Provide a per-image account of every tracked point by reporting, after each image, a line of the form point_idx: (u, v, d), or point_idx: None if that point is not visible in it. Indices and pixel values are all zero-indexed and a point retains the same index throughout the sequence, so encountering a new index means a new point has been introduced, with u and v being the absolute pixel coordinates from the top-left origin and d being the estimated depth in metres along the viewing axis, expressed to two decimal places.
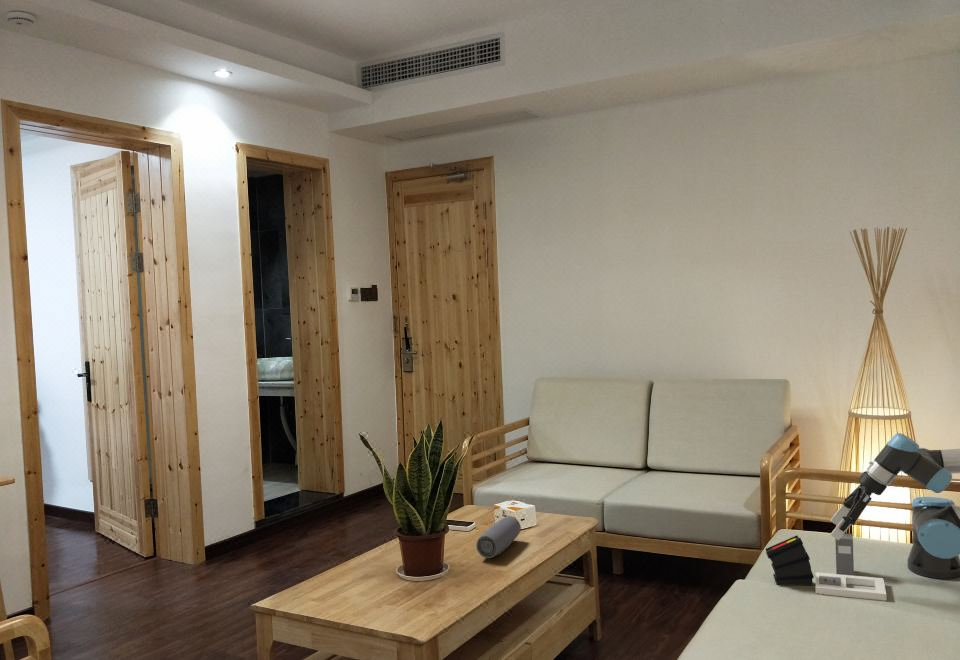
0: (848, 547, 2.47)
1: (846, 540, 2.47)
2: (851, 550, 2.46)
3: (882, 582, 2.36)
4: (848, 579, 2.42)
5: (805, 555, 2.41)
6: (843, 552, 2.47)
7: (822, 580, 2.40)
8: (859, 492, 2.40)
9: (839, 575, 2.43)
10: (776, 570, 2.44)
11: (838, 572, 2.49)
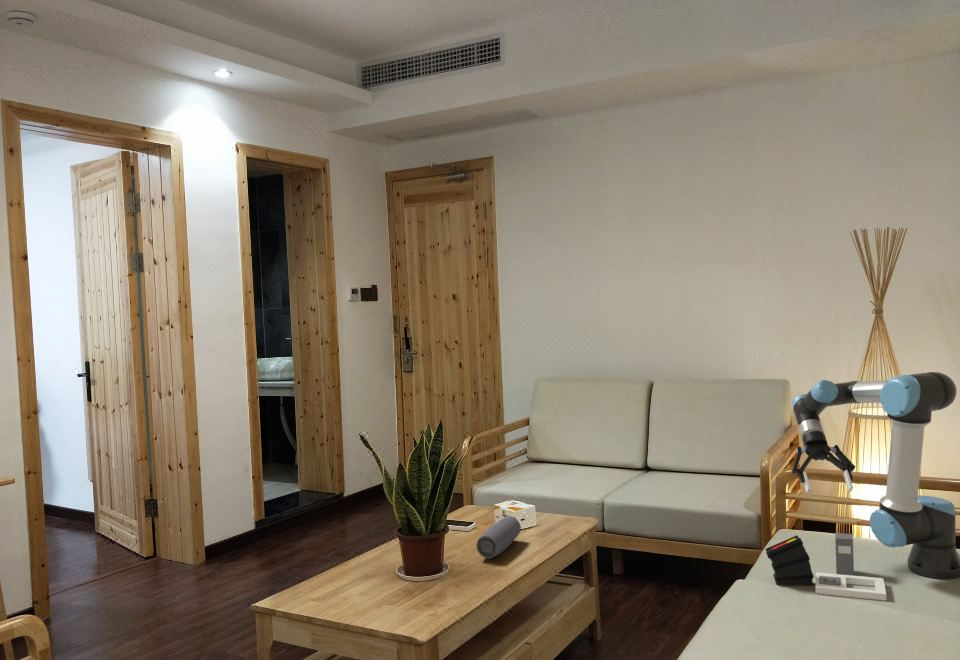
0: (848, 547, 2.47)
1: (846, 540, 2.47)
2: (851, 550, 2.46)
3: (882, 582, 2.36)
4: (848, 579, 2.42)
5: (805, 555, 2.41)
6: (843, 552, 2.47)
7: (822, 580, 2.40)
8: None
9: (839, 575, 2.43)
10: (776, 570, 2.44)
11: (838, 572, 2.49)
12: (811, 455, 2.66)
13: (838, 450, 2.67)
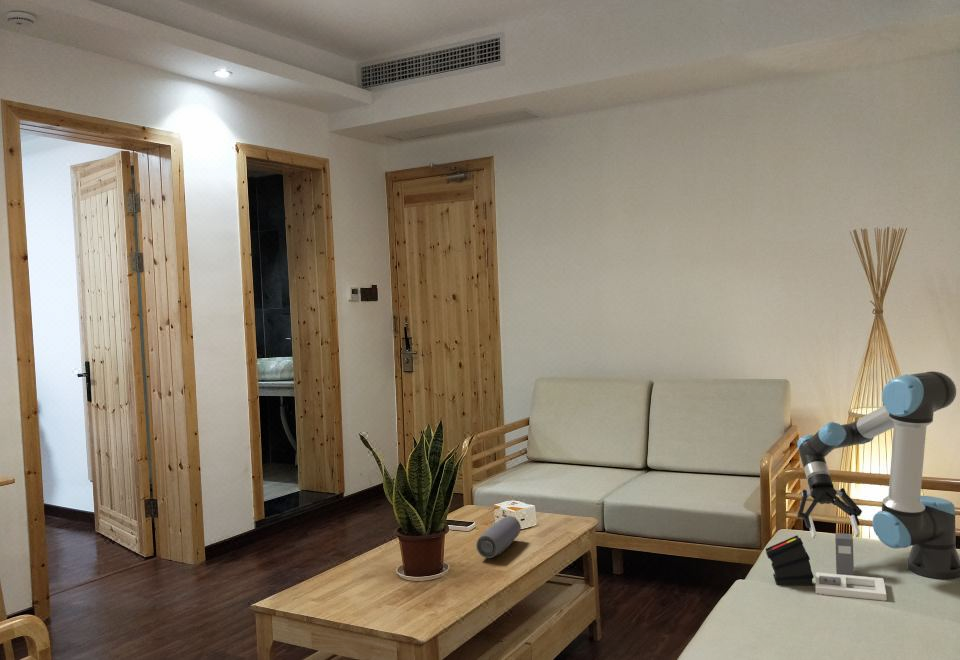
0: (848, 547, 2.47)
1: (846, 540, 2.47)
2: (851, 550, 2.46)
3: (882, 582, 2.36)
4: (848, 579, 2.42)
5: (805, 555, 2.41)
6: (843, 552, 2.47)
7: (822, 580, 2.40)
8: None
9: (839, 575, 2.43)
10: (776, 570, 2.44)
11: (838, 572, 2.49)
12: (817, 499, 2.61)
13: (844, 494, 2.62)
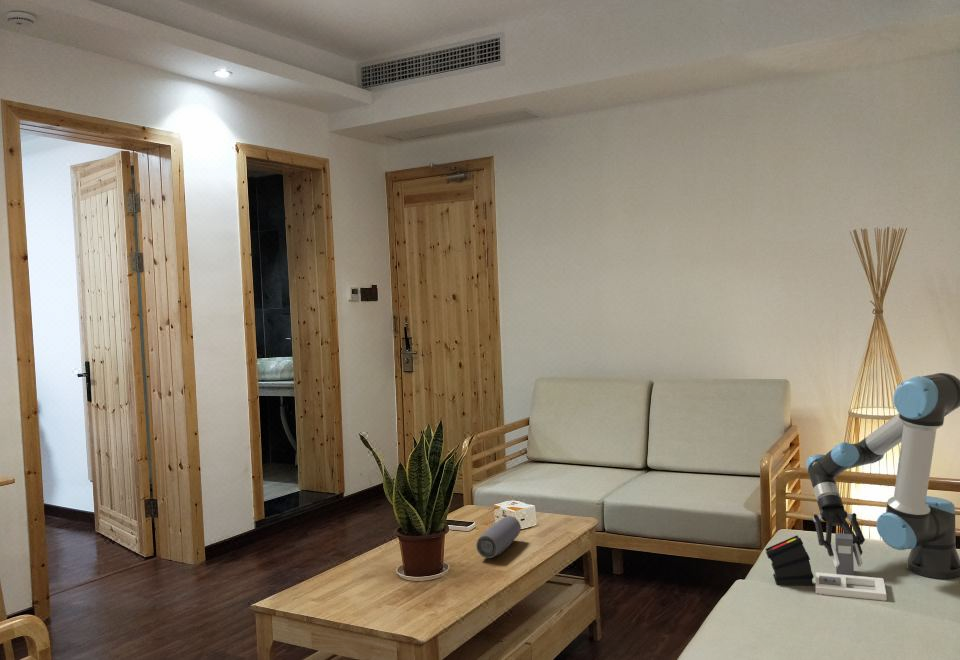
0: (848, 547, 2.47)
1: (846, 540, 2.47)
2: (851, 550, 2.46)
3: (882, 582, 2.36)
4: (848, 579, 2.42)
5: (805, 555, 2.41)
6: (843, 552, 2.47)
7: (822, 580, 2.40)
8: None
9: (839, 575, 2.43)
10: (776, 570, 2.44)
11: (838, 572, 2.49)
12: (831, 522, 2.54)
13: (854, 519, 2.55)
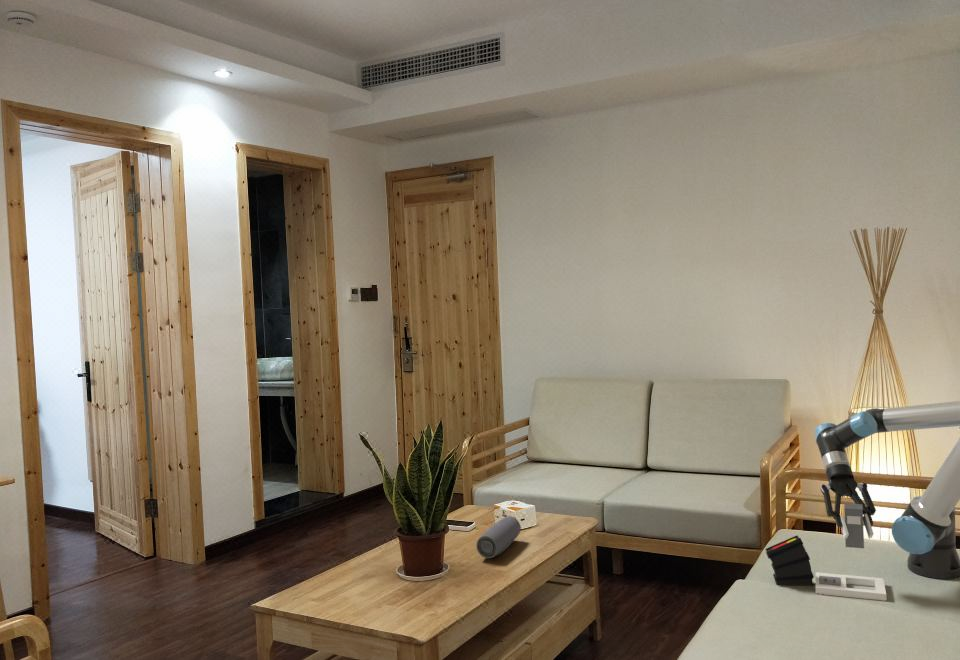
0: (857, 517, 2.34)
1: (856, 510, 2.34)
2: (861, 520, 2.34)
3: (882, 582, 2.36)
4: (848, 579, 2.42)
5: (805, 555, 2.41)
6: (853, 522, 2.35)
7: (822, 580, 2.40)
8: None
9: (839, 575, 2.43)
10: (776, 570, 2.44)
11: (847, 544, 2.36)
12: (840, 492, 2.42)
13: (865, 489, 2.42)
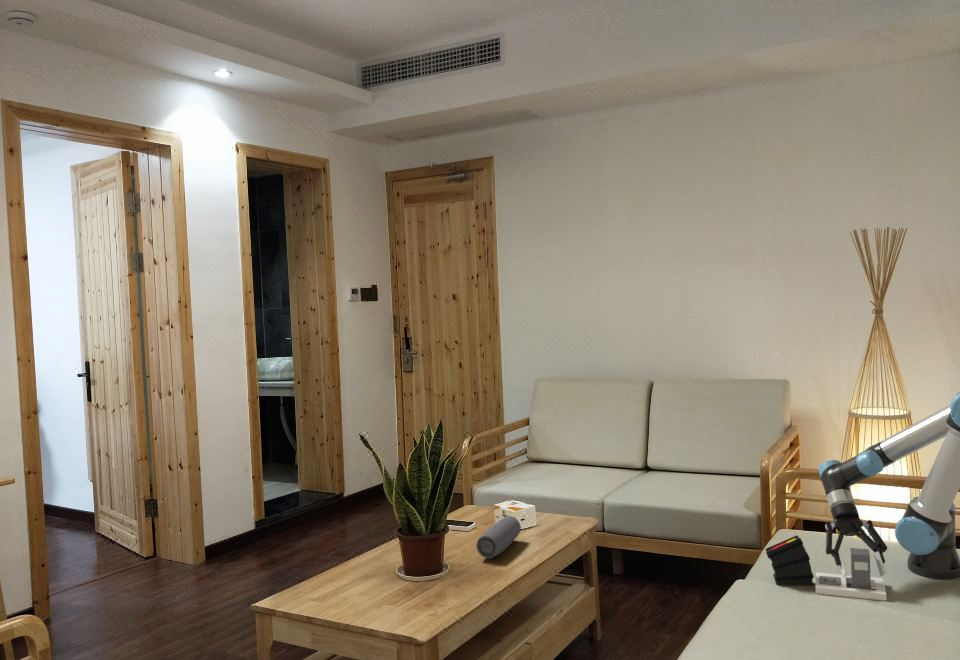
0: (864, 563, 2.33)
1: (863, 556, 2.33)
2: (868, 566, 2.33)
3: (882, 582, 2.36)
4: (848, 579, 2.42)
5: (805, 555, 2.41)
6: (860, 568, 2.34)
7: (822, 580, 2.40)
8: None
9: (839, 575, 2.43)
10: (776, 570, 2.44)
11: None
12: (843, 531, 2.41)
13: (871, 526, 2.41)
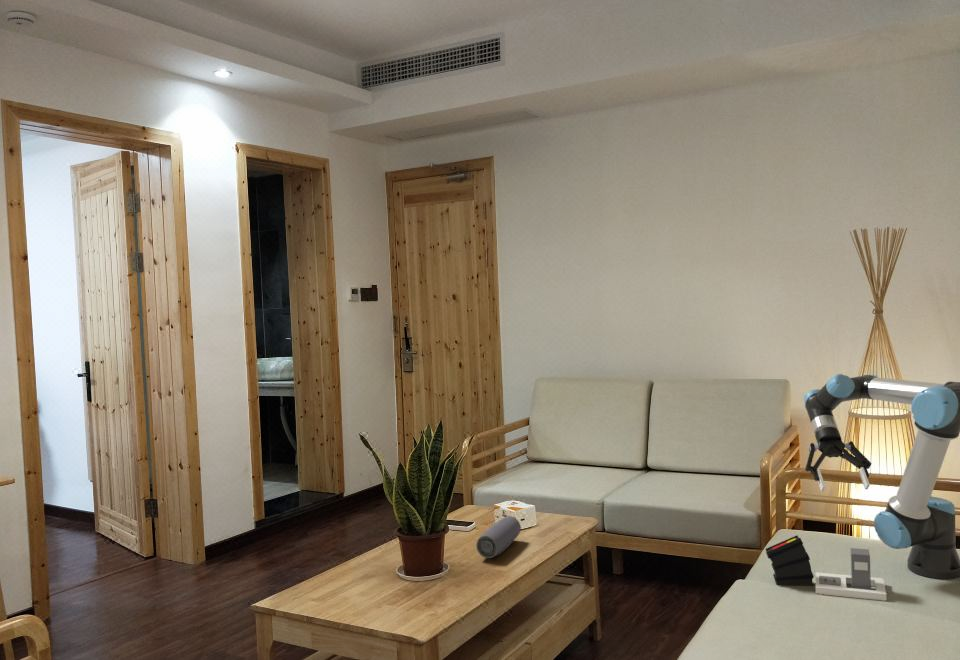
0: (864, 563, 2.33)
1: (863, 556, 2.33)
2: (868, 566, 2.33)
3: (882, 582, 2.36)
4: (848, 579, 2.42)
5: (805, 555, 2.41)
6: (860, 568, 2.34)
7: (822, 580, 2.40)
8: None
9: (839, 575, 2.43)
10: (776, 570, 2.44)
11: None
12: (825, 452, 2.55)
13: (853, 447, 2.56)
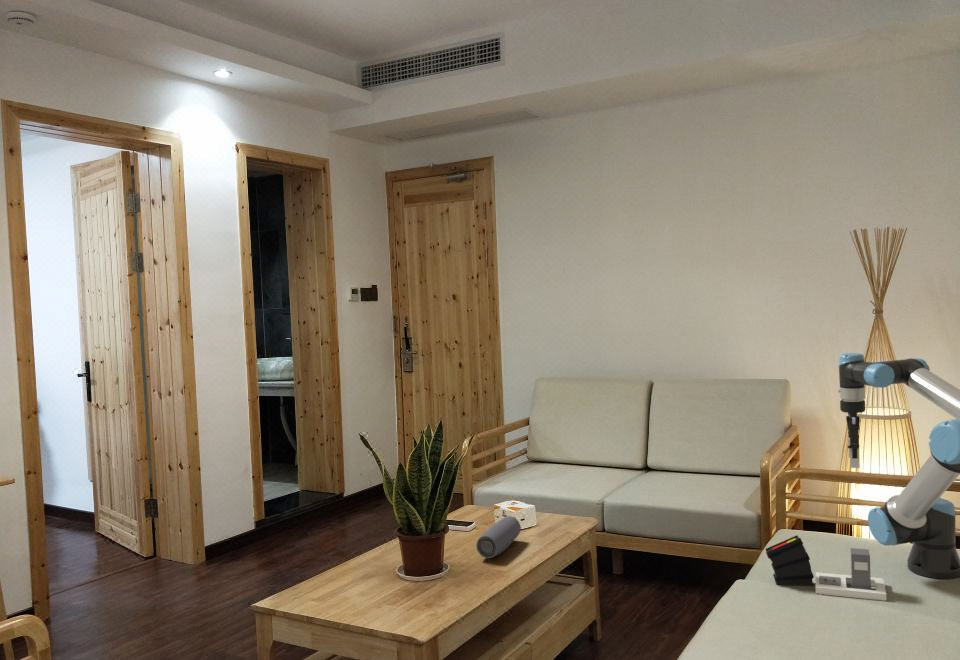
0: (864, 563, 2.33)
1: (863, 556, 2.33)
2: (868, 566, 2.33)
3: (882, 582, 2.36)
4: (848, 579, 2.42)
5: (805, 555, 2.41)
6: (860, 568, 2.34)
7: (822, 580, 2.40)
8: (848, 419, 2.59)
9: (839, 575, 2.43)
10: (776, 570, 2.44)
11: None
12: None
13: None
